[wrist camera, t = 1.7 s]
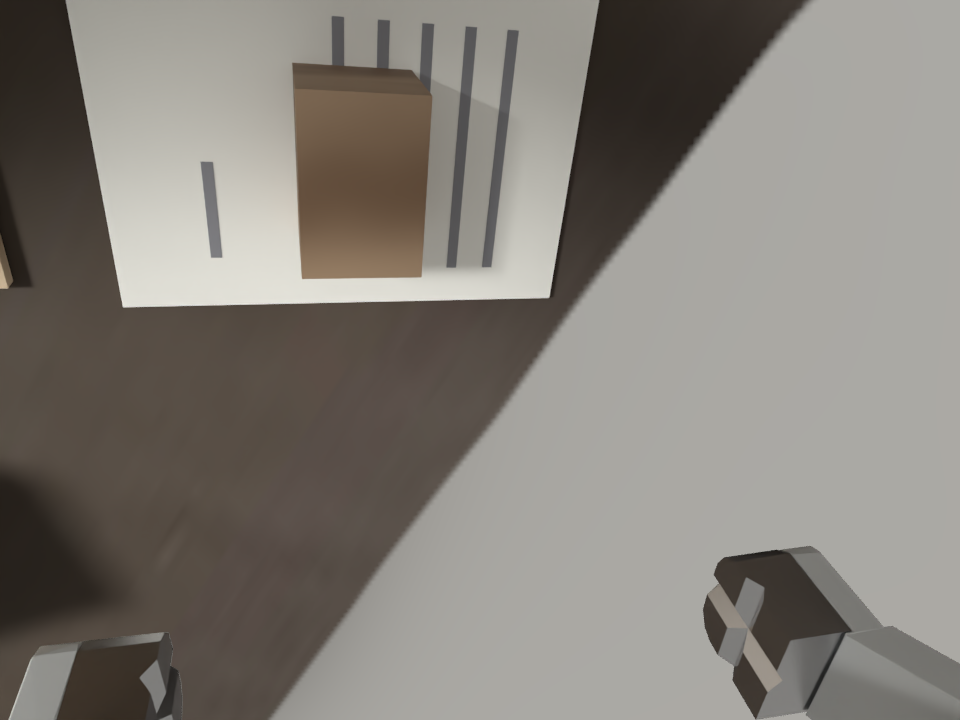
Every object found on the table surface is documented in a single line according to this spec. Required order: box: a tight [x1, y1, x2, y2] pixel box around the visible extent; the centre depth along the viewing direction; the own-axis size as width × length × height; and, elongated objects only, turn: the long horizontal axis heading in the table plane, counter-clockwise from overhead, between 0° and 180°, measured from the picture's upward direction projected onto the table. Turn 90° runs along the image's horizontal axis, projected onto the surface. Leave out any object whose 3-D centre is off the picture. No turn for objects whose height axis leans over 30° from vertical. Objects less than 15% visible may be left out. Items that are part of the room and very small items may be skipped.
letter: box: [66, 0, 599, 307], centre depth 26 cm, size 12×17×1 cm
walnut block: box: [292, 63, 432, 279], centre depth 24 cm, size 6×4×4 cm, turn 174°
